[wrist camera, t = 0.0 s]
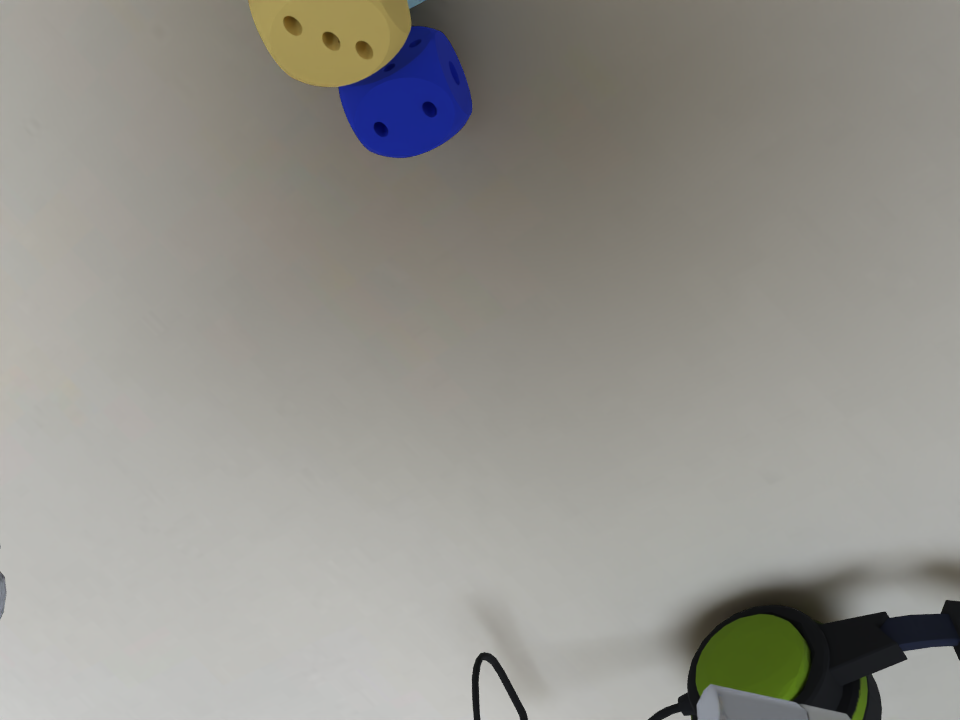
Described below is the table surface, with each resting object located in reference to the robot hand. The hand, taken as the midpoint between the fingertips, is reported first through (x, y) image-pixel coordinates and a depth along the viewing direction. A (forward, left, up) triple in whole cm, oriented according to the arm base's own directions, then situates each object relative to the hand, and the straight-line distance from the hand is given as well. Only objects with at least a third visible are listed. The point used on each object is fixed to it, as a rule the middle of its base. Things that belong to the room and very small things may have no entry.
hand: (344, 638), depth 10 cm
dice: (-4, -4, -18) cm, 19 cm away
